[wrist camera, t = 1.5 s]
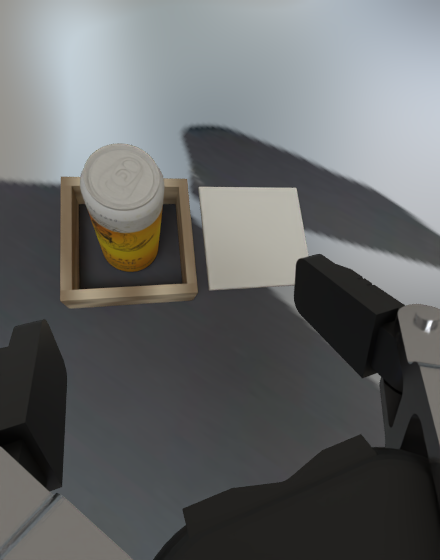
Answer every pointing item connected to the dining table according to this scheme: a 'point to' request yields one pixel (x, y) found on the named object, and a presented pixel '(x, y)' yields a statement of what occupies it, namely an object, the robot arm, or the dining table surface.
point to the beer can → (124, 204)
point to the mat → (251, 236)
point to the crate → (123, 295)
